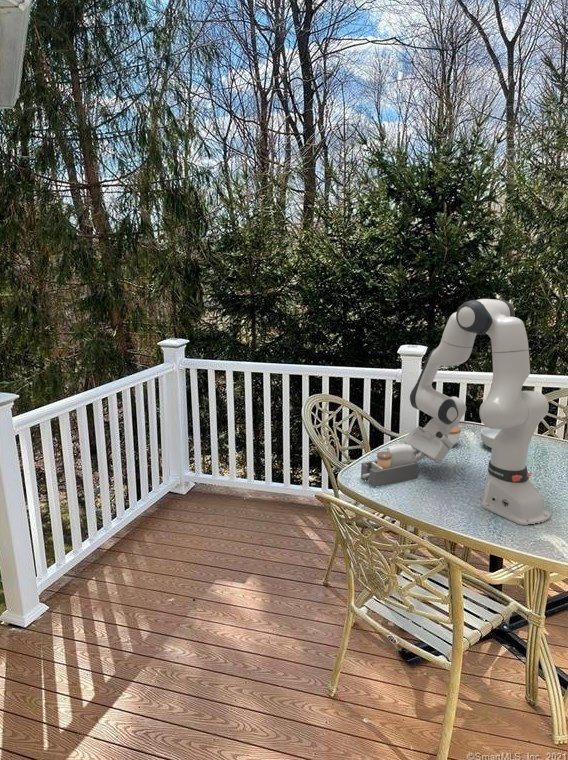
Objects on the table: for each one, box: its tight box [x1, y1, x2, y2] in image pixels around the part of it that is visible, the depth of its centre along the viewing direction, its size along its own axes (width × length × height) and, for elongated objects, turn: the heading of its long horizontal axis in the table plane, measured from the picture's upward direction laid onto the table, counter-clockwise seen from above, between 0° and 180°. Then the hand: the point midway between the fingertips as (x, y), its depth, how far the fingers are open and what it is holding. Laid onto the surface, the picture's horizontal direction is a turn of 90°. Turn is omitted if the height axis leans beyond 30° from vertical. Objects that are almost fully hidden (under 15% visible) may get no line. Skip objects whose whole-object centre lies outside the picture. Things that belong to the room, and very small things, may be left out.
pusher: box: [362, 462, 383, 478], centre depth 198 cm, size 6×6×6 cm
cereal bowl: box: [480, 426, 501, 449], centre depth 230 cm, size 17×17×7 cm
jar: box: [376, 451, 391, 469], centre depth 200 cm, size 5×5×10 cm
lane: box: [360, 459, 420, 488], centre depth 202 cm, size 9×20×6 cm, turn 114°
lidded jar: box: [447, 425, 462, 447], centre depth 234 cm, size 11×11×9 cm
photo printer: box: [386, 443, 414, 468], centre depth 203 cm, size 10×4×12 cm, turn 101°
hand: (412, 461), depth 205 cm, fingers closed, pressing on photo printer
